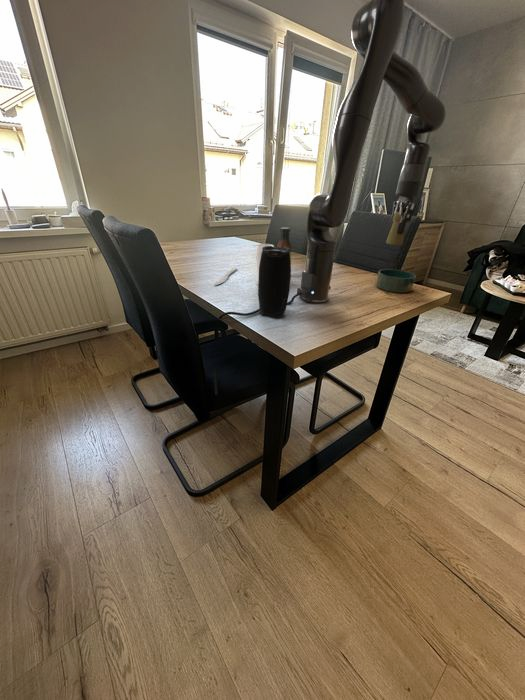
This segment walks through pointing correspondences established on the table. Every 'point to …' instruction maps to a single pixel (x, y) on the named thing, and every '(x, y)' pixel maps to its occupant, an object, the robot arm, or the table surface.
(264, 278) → the portable speaker
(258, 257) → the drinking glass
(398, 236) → the cork
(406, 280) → the teal shallow bowl
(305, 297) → the robot arm
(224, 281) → the butter knife
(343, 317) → the table surface
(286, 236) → the sauce bottle
